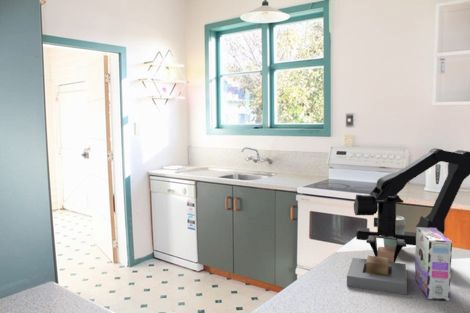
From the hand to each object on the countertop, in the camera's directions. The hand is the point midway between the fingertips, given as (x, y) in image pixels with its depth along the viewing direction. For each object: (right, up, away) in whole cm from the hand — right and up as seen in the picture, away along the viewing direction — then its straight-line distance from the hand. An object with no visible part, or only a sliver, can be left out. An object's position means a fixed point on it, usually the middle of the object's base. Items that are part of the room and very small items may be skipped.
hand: (385, 261), depth 129 cm
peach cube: (0, -1, 0) cm, 1 cm away
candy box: (+5, -3, -19) cm, 20 cm away
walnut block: (-7, -1, -12) cm, 14 cm away
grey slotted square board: (-7, -2, -12) cm, 14 cm away
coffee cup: (+8, 0, +15) cm, 17 cm away
